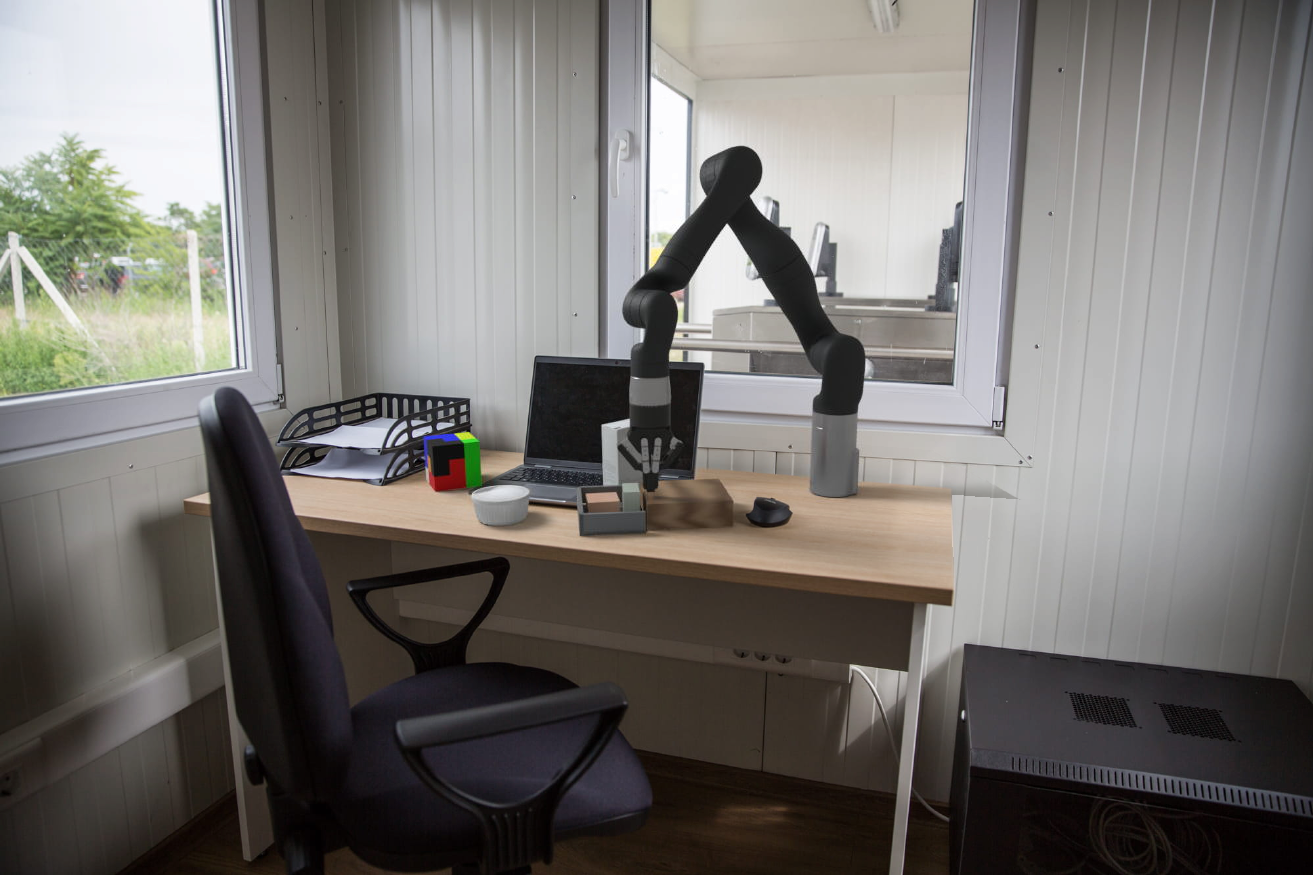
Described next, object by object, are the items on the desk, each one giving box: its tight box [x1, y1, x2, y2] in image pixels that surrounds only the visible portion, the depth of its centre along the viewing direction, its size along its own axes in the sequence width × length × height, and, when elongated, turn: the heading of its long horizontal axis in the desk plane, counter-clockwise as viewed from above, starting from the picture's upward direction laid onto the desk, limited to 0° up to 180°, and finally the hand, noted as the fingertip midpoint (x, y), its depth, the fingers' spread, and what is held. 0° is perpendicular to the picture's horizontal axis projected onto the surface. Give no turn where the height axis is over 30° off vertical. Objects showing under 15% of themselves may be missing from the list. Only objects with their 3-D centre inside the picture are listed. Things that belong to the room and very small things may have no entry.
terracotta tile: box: [586, 492, 620, 513], centre depth 169 cm, size 6×6×3 cm
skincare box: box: [601, 418, 643, 490], centre depth 183 cm, size 8×6×15 cm
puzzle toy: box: [423, 431, 483, 493], centre depth 190 cm, size 10×10×10 cm
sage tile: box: [622, 483, 641, 512], centre depth 165 cm, size 6×6×3 cm
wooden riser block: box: [640, 478, 735, 531], centre depth 168 cm, size 16×15×5 cm
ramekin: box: [471, 484, 531, 527], centre depth 167 cm, size 11×11×5 cm
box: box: [576, 485, 647, 537], centre depth 167 cm, size 12×18×4 cm, turn 6°
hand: (650, 490), depth 163 cm, fingers closed
